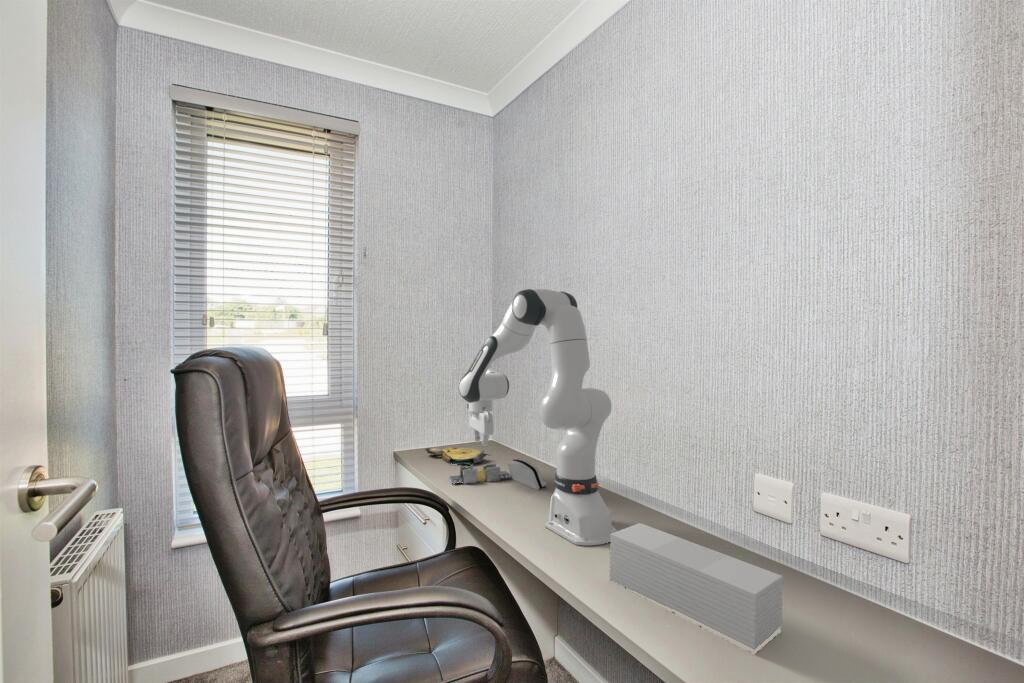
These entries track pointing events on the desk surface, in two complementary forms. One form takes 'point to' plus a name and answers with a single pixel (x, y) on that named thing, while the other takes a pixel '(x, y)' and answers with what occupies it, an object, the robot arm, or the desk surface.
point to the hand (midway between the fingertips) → (480, 443)
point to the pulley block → (459, 455)
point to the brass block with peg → (481, 475)
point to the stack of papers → (698, 583)
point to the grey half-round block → (526, 473)
